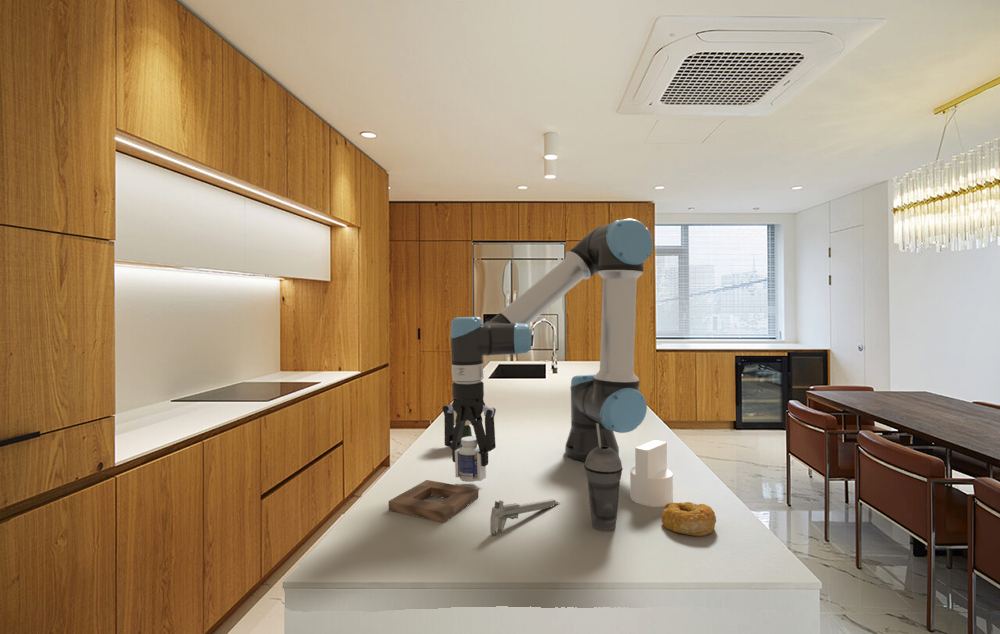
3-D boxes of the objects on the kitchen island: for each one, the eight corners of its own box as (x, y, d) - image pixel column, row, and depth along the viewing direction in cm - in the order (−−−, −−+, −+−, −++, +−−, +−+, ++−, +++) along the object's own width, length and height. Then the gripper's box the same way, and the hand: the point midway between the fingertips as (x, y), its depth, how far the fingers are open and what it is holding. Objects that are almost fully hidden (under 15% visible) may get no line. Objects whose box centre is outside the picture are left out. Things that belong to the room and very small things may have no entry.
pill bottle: (478, 483, 117) (477, 441, 116) (456, 482, 118) (455, 441, 117) (484, 475, 122) (482, 435, 122) (463, 474, 123) (461, 435, 123)
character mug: (482, 446, 153) (482, 403, 152) (465, 450, 148) (464, 407, 147) (460, 439, 161) (459, 399, 160) (442, 443, 156) (442, 402, 155)
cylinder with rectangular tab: (643, 488, 117) (643, 437, 117) (680, 498, 110) (680, 444, 110) (622, 498, 111) (622, 445, 110) (660, 510, 104) (660, 453, 104)
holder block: (478, 497, 112) (478, 489, 112) (444, 522, 99) (444, 512, 99) (426, 488, 118) (426, 479, 118) (388, 510, 105) (388, 500, 105)
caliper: (494, 537, 93) (494, 504, 93) (490, 535, 94) (490, 503, 94) (559, 504, 108) (559, 476, 108) (555, 503, 109) (555, 474, 109)
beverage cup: (615, 538, 92) (615, 430, 92) (578, 528, 96) (578, 425, 95) (627, 523, 98) (627, 422, 98) (592, 515, 102) (592, 418, 102)
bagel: (704, 515, 102) (704, 492, 102) (724, 541, 91) (724, 515, 91) (655, 514, 103) (655, 491, 103) (668, 539, 92) (668, 513, 92)
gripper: (426, 382, 120) (430, 477, 121) (494, 385, 112) (497, 488, 112) (443, 377, 127) (446, 467, 127) (509, 380, 118) (511, 477, 119)
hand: (470, 477), depth 120 cm, fingers closed on pill bottle, 5 cm apart
